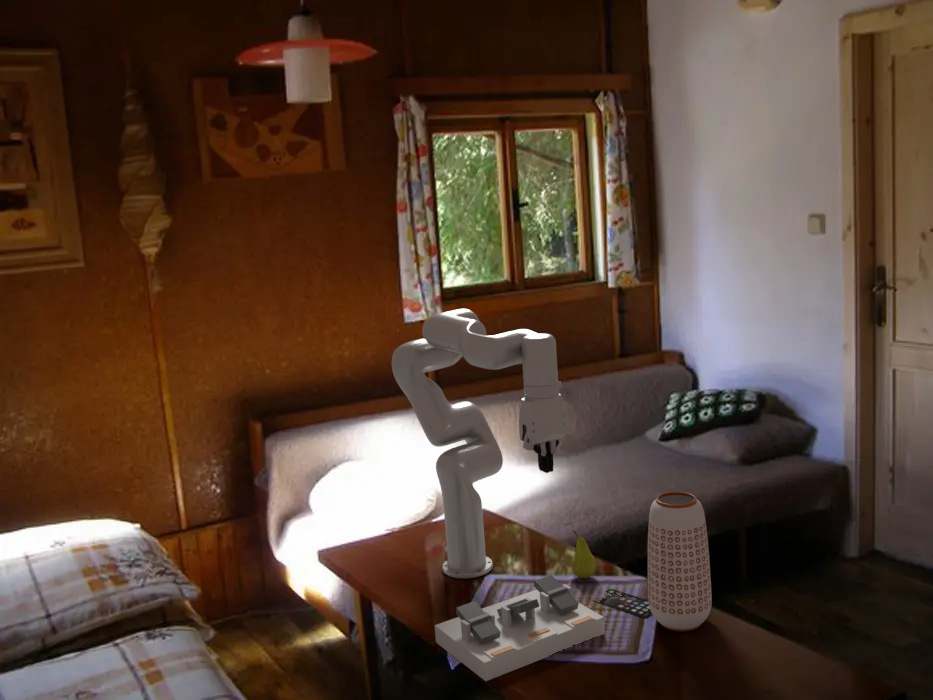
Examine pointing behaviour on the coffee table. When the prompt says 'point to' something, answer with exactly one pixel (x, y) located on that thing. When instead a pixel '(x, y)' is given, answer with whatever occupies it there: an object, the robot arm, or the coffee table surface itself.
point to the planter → (678, 562)
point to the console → (518, 635)
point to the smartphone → (627, 603)
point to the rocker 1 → (478, 622)
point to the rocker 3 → (556, 594)
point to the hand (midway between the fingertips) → (546, 470)
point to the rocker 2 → (520, 606)
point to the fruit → (583, 559)
